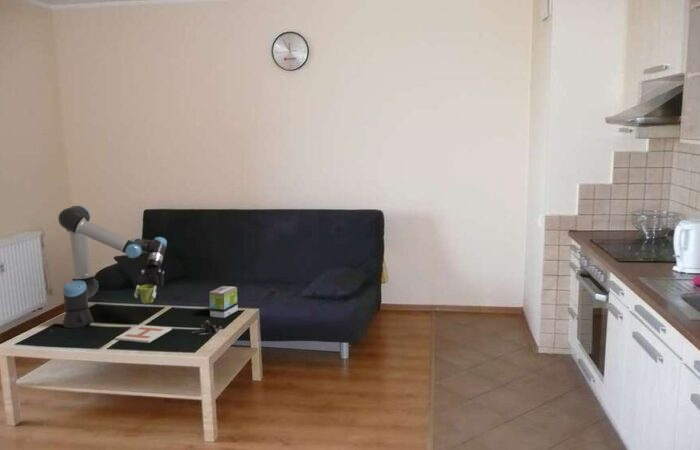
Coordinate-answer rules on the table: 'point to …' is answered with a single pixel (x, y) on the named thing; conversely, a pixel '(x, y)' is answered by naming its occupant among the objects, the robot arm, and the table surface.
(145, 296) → the plant pot
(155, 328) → the letter board
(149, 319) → the table surface
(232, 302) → the tea box
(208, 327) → the stuffed animal
